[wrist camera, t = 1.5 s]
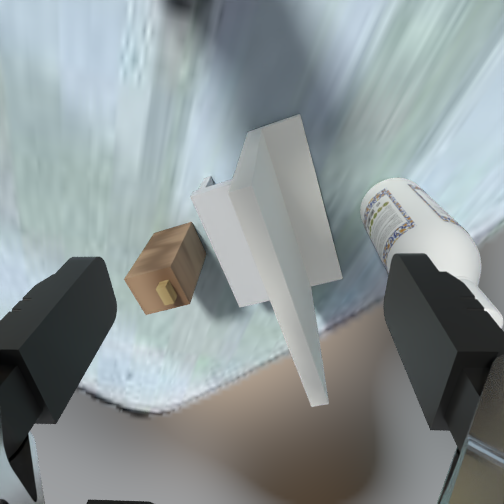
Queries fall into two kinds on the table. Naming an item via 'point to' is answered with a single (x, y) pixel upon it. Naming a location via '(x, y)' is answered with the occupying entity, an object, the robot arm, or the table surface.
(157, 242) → the brown tall block
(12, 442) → the robot arm
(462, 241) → the bath foam
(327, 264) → the wall shelf
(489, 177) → the table surface
